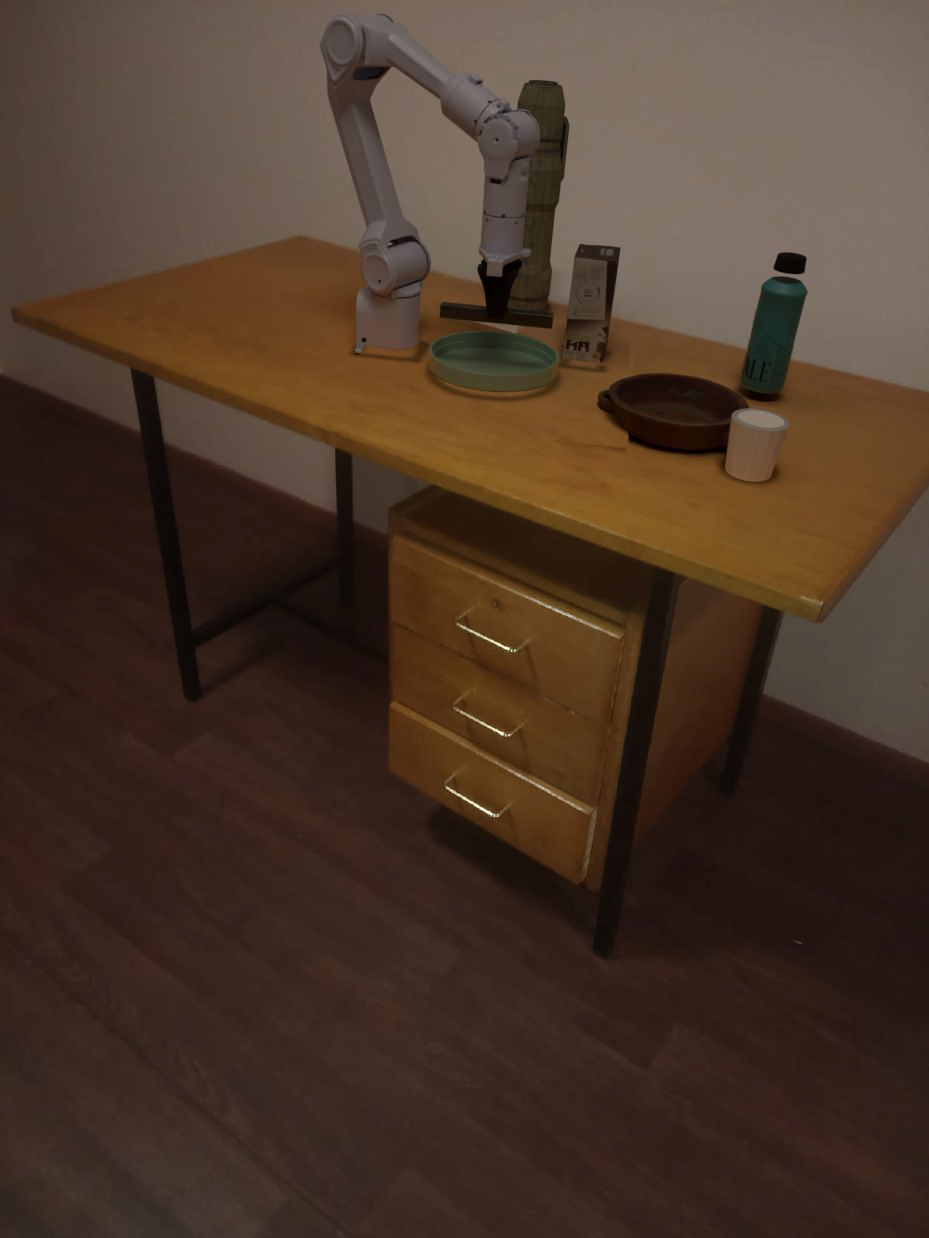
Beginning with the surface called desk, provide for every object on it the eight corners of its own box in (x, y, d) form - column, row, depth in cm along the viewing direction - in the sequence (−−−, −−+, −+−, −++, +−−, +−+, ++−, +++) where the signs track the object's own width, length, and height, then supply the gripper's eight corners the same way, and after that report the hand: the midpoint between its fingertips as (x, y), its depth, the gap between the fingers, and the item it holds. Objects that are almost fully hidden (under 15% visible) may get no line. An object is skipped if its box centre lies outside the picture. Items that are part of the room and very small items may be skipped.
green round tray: (417, 391, 133) (417, 367, 131) (440, 347, 149) (441, 325, 147) (551, 406, 132) (554, 382, 130) (560, 360, 147) (563, 338, 145)
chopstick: (551, 329, 133) (553, 316, 132) (439, 318, 135) (439, 305, 134) (552, 325, 135) (554, 312, 134) (441, 314, 136) (441, 301, 135)
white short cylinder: (712, 459, 120) (724, 406, 116) (765, 460, 121) (778, 407, 117) (729, 483, 115) (742, 429, 111) (784, 484, 115) (799, 430, 111)
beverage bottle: (782, 391, 141) (818, 251, 130) (779, 407, 136) (817, 263, 125) (738, 384, 143) (770, 245, 132) (733, 399, 138) (766, 256, 126)
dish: (622, 392, 138) (628, 358, 135) (772, 431, 129) (781, 396, 126) (569, 431, 125) (573, 395, 122) (731, 477, 116) (740, 439, 113)
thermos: (563, 307, 170) (589, 84, 150) (519, 319, 163) (540, 86, 143) (527, 295, 175) (547, 77, 155) (482, 306, 168) (497, 79, 148)
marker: (441, 320, 163) (519, 341, 155) (435, 316, 161) (514, 337, 153) (446, 305, 162) (525, 325, 155) (440, 301, 160) (519, 321, 153)
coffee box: (602, 371, 144) (618, 261, 135) (560, 365, 145) (572, 256, 136) (607, 351, 152) (622, 246, 143) (567, 347, 153) (579, 241, 143)
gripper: (528, 228, 120) (519, 334, 128) (538, 205, 132) (529, 304, 140) (473, 223, 121) (467, 329, 129) (488, 200, 133) (481, 299, 141)
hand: (496, 316), depth 134 cm, fingers closed on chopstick, 2 cm apart
